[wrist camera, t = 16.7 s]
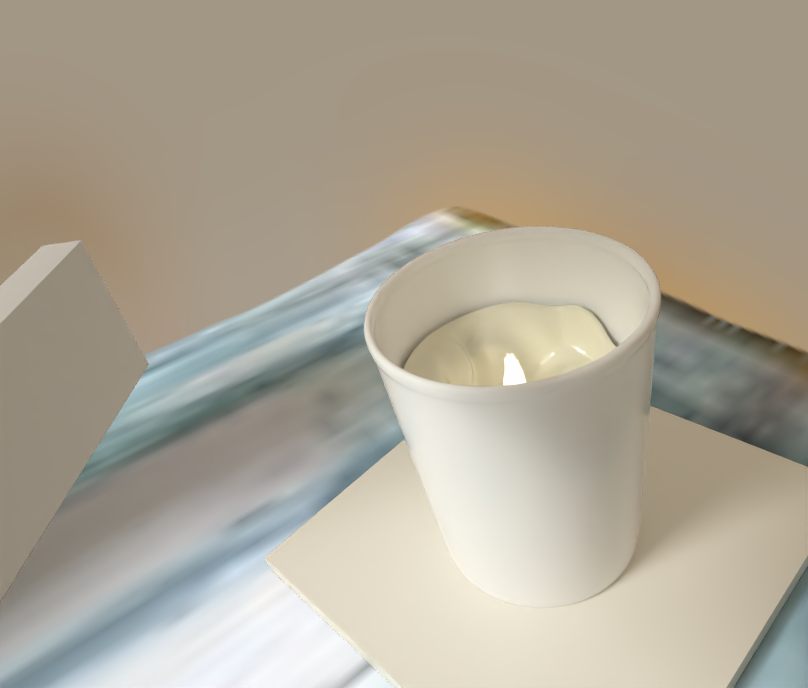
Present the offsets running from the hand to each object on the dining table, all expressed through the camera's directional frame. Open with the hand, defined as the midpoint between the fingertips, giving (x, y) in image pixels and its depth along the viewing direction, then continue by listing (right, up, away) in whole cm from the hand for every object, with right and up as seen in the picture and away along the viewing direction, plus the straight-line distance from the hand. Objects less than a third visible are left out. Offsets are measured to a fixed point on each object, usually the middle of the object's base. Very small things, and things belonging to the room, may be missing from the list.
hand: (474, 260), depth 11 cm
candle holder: (+5, -9, +19) cm, 22 cm away
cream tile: (+5, -10, +19) cm, 22 cm away
